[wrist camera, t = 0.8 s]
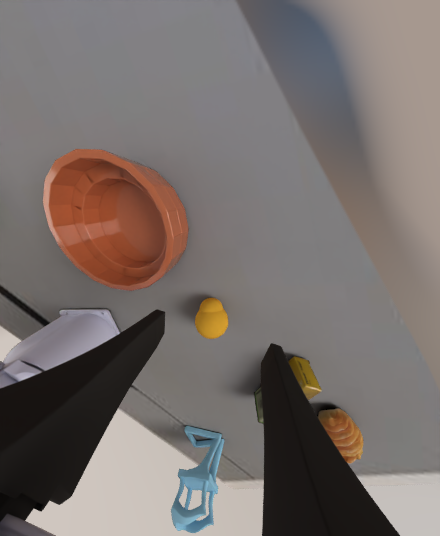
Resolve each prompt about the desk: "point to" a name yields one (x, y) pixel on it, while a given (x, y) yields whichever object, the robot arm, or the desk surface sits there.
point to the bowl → (114, 218)
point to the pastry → (342, 433)
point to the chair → (198, 483)
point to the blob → (211, 319)
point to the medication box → (304, 378)
